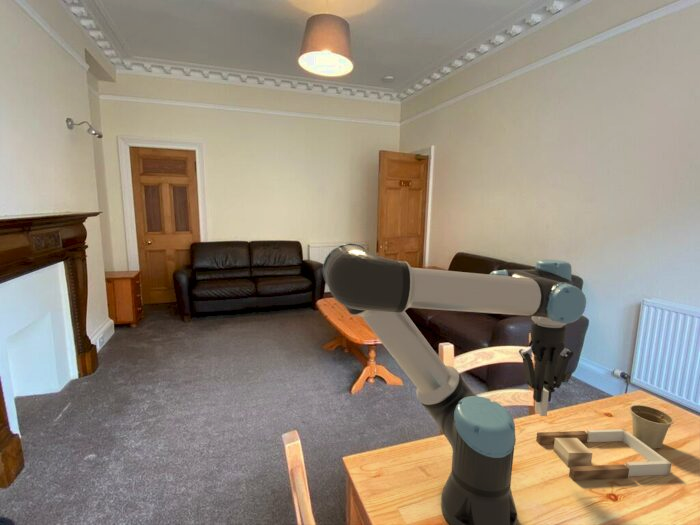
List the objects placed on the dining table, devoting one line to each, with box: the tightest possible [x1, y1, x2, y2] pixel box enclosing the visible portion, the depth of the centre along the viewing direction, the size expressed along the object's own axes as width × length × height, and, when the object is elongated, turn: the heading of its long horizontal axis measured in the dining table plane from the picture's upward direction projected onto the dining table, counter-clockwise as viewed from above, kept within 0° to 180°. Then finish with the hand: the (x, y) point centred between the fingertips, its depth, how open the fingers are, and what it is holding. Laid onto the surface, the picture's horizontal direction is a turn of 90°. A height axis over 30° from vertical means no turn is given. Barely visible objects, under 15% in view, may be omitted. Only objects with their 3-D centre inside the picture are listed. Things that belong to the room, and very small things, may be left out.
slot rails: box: [535, 430, 629, 482], centre depth 94 cm, size 14×15×2 cm
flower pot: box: [629, 404, 675, 450], centre depth 100 cm, size 9×9×9 cm
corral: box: [586, 428, 672, 477], centre depth 95 cm, size 11×14×3 cm
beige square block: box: [553, 438, 593, 468], centre depth 93 cm, size 6×6×4 cm
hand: (540, 412), depth 91 cm, fingers closed
